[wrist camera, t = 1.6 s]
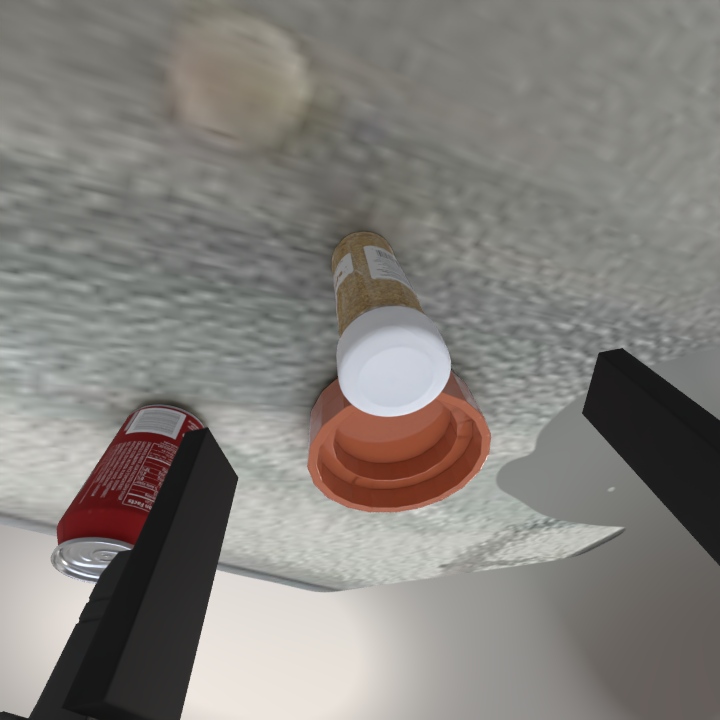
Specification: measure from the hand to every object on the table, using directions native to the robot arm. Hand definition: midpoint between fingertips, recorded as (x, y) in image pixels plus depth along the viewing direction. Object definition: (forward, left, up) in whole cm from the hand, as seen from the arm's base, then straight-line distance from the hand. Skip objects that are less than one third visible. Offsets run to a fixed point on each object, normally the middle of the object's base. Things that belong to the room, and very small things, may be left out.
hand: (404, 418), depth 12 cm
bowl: (+9, +13, -15) cm, 22 cm away
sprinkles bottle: (0, 0, -16) cm, 16 cm away
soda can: (+23, -2, -16) cm, 28 cm away
